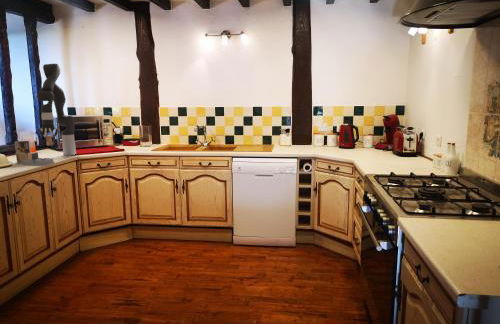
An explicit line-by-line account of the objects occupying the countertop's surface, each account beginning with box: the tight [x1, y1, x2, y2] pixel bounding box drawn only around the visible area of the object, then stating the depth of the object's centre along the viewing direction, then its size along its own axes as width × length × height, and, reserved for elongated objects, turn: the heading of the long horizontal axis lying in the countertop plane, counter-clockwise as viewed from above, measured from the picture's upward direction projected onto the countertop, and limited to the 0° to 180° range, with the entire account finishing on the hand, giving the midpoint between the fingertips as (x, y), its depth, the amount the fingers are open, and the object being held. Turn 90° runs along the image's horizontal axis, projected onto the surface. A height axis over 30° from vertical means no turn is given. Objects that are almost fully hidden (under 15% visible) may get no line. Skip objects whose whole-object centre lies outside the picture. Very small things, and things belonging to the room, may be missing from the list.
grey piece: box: [22, 151, 56, 166], centre depth 271 cm, size 11×17×8 cm, turn 79°
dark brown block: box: [45, 134, 54, 147], centre depth 275 cm, size 4×6×7 cm, turn 14°
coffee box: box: [14, 140, 32, 164], centre depth 275 cm, size 9×6×16 cm
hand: (49, 142), depth 275 cm, fingers closed on dark brown block, 3 cm apart
